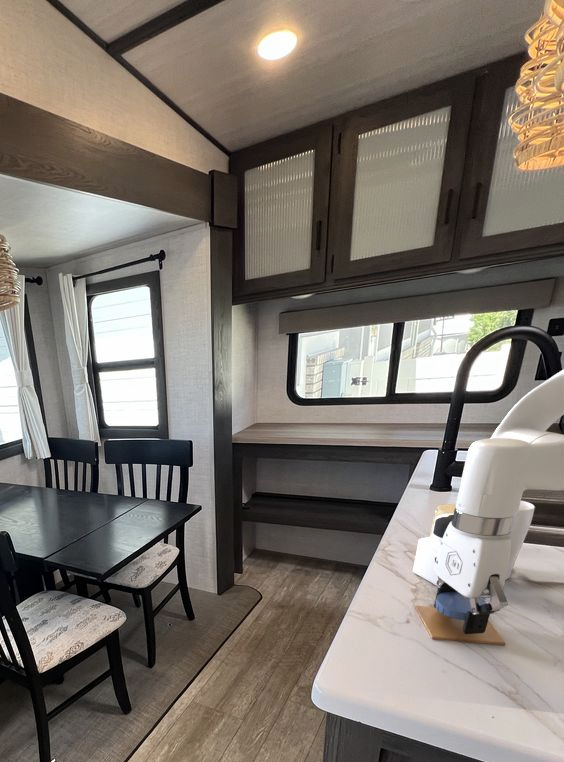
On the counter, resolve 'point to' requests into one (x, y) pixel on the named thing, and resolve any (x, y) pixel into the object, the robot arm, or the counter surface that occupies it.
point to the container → (431, 549)
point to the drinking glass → (519, 532)
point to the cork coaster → (454, 628)
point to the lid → (454, 605)
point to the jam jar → (440, 511)
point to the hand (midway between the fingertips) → (458, 619)
